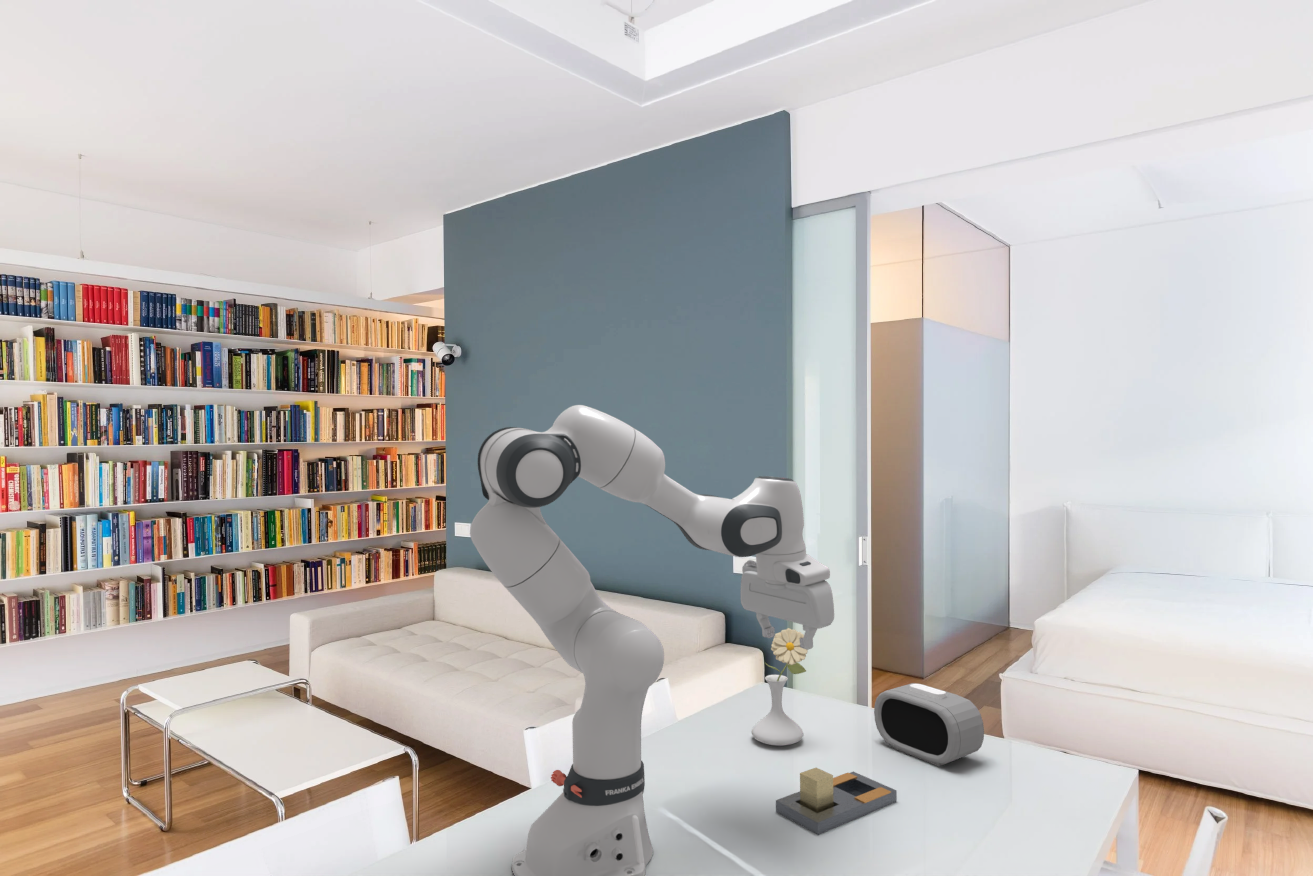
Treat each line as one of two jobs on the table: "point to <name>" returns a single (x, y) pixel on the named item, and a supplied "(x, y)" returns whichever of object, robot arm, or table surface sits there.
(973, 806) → the table surface
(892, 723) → the alarm clock
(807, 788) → the brass block
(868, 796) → the rail
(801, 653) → the flower in vase
